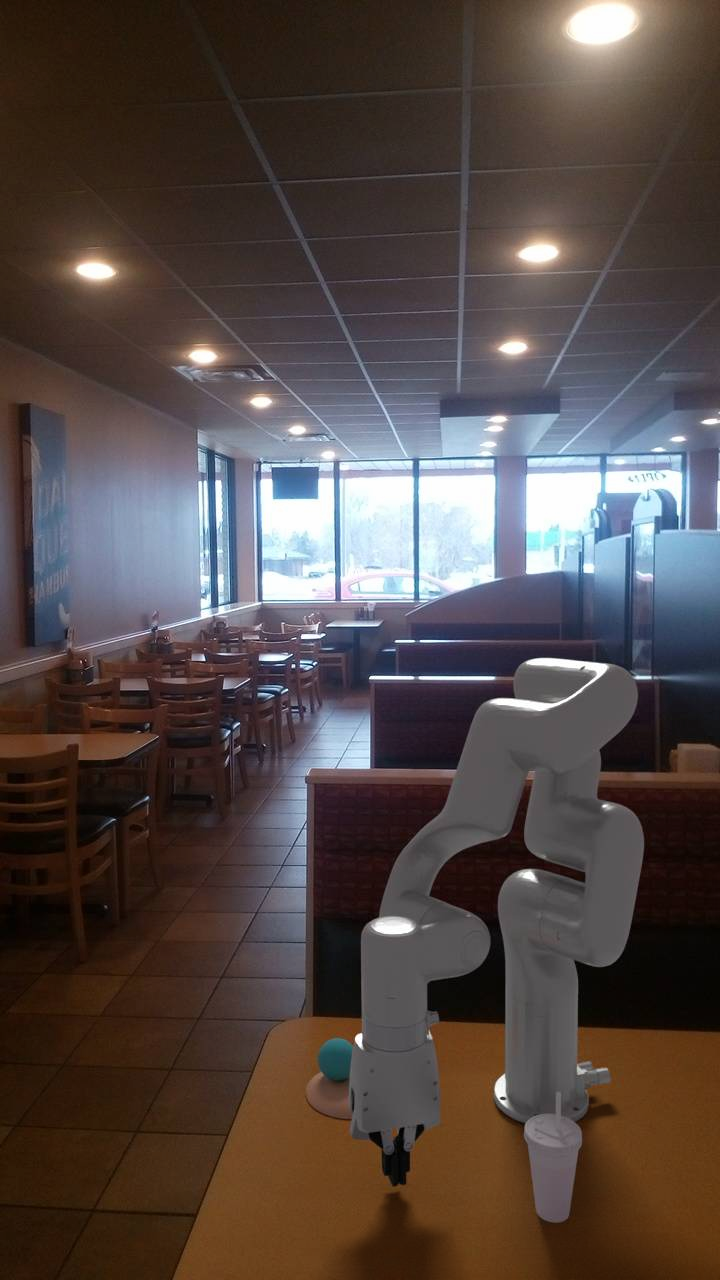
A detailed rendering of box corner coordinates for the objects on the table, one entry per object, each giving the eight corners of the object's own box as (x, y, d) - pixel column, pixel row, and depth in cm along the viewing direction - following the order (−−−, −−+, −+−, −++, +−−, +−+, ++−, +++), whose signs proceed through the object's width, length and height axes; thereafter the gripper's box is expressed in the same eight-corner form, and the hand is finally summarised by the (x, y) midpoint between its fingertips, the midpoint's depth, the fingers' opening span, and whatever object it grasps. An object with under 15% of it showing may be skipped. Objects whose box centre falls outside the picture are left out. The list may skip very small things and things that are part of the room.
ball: (359, 1035, 132) (364, 1077, 130) (347, 1035, 137) (352, 1076, 135) (322, 1040, 130) (326, 1084, 128) (311, 1041, 135) (315, 1083, 133)
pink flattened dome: (385, 1060, 137) (385, 1058, 137) (411, 1110, 125) (411, 1109, 125) (298, 1073, 134) (298, 1071, 134) (316, 1126, 122) (316, 1124, 122)
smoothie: (582, 1235, 102) (583, 1112, 100) (522, 1227, 103) (523, 1106, 102) (580, 1195, 108) (581, 1079, 107) (524, 1188, 109) (524, 1074, 108)
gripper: (445, 1004, 113) (445, 1148, 115) (324, 1020, 109) (326, 1169, 111) (467, 1034, 106) (467, 1187, 107) (338, 1053, 102) (340, 1211, 104)
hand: (395, 1177), depth 109 cm, fingers closed
